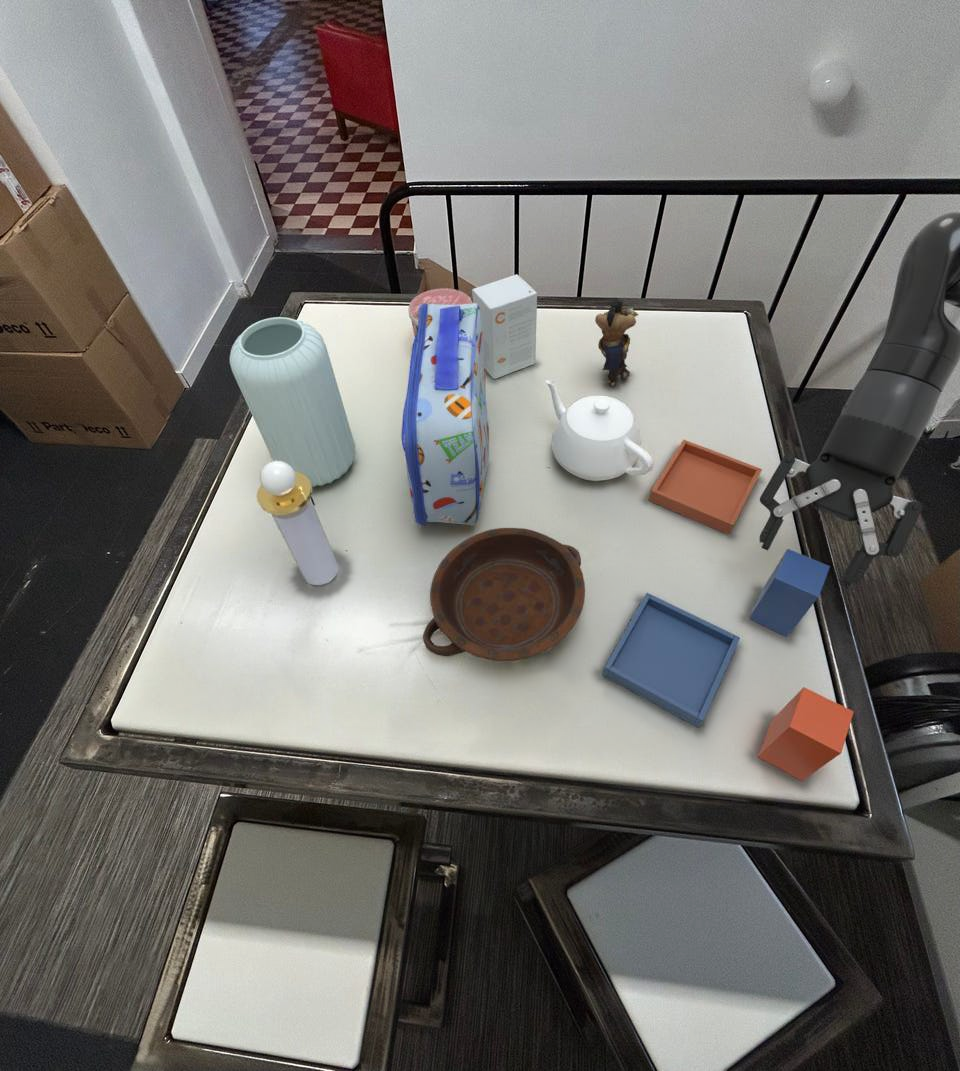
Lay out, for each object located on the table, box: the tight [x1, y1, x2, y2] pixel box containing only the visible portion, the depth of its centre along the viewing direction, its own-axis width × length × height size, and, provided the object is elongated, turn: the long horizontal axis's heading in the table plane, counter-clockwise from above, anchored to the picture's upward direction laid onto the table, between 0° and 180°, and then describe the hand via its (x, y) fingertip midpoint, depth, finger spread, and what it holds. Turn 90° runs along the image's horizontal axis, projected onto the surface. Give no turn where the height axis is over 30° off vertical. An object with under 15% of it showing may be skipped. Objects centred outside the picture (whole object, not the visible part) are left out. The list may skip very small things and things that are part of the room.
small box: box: [471, 273, 538, 380], centre depth 97 cm, size 8×6×13 cm
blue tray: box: [602, 592, 741, 728], centre depth 68 cm, size 11×11×2 cm
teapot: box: [545, 379, 655, 482], centre depth 84 cm, size 20×12×10 cm, turn 39°
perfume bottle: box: [256, 460, 339, 586], centre depth 70 cm, size 6×6×20 cm
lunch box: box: [401, 302, 490, 527], centre depth 80 cm, size 28×10×22 cm, turn 0°
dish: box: [422, 527, 586, 662], centre depth 72 cm, size 17×22×5 cm
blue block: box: [748, 548, 831, 638], centre depth 69 cm, size 4×4×9 cm
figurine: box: [594, 298, 639, 388], centre depth 92 cm, size 7×6×15 cm
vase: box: [229, 316, 356, 488], centre depth 81 cm, size 12×12×22 cm
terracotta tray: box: [648, 439, 763, 535], centre depth 83 cm, size 11×11×2 cm
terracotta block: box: [757, 686, 855, 782], centre depth 59 cm, size 4×4×9 cm
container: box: [407, 288, 473, 337], centre depth 102 cm, size 10×10×8 cm
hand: (803, 566), depth 67 cm, fingers open, 8 cm apart
